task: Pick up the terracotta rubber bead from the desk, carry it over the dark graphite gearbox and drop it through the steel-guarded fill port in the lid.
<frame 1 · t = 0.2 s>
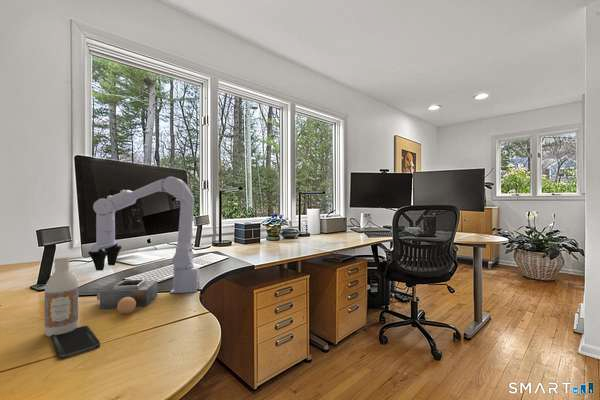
hand: (105, 267, 105), 10 cm above the table, fingers open, 7 cm apart
gearbox: (130, 301, 98), on the table
bead: (126, 305, 88), point 2 cm above the table
phone: (75, 344, 70), on the table
bath foam: (62, 332, 76), on the table
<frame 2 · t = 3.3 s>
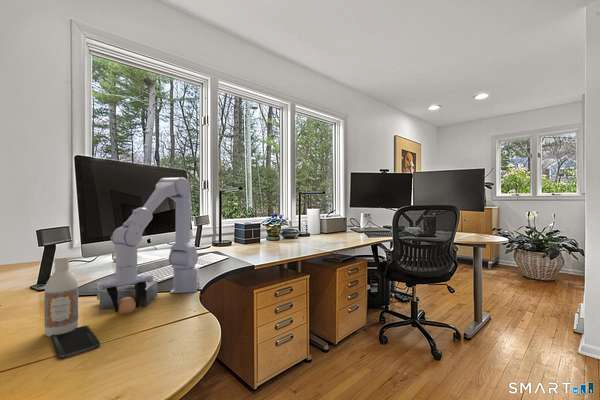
hand: (126, 308, 88), 1 cm above the table, fingers closed on bead, 5 cm apart
bead: (126, 305, 88), point 2 cm above the table, touching gripper
everything else where it was.
when the fingers open (9 cm above the table, at t = 6.5 s): bead drops 7 cm, point 2 cm above the table.
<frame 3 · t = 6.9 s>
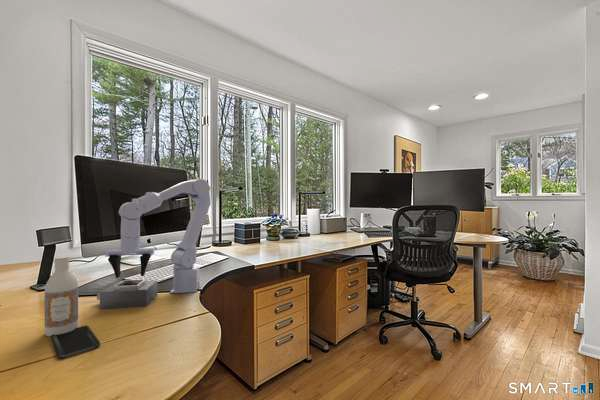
hand: (130, 276, 98), 9 cm above the table, fingers open, 7 cm apart
bead: (130, 294, 98), point 2 cm above the table
everything else where it was.
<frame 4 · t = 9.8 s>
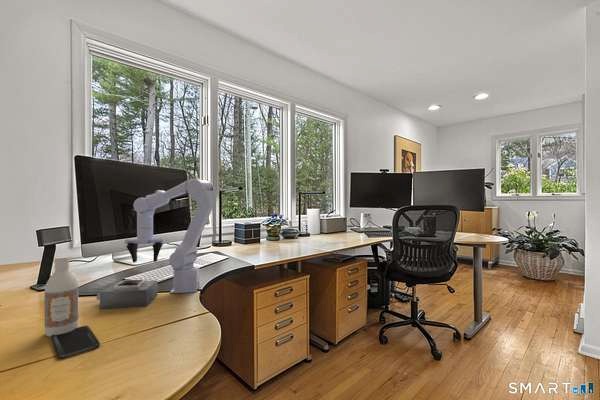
hand: (145, 261, 114), 10 cm above the table, fingers open, 7 cm apart
nothing on the table moved.
at the end: bead inside the target area on the gearbox (0.1 cm from its centre), point 2.5 cm above the gearbox's base; the gripper is holding nothing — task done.
